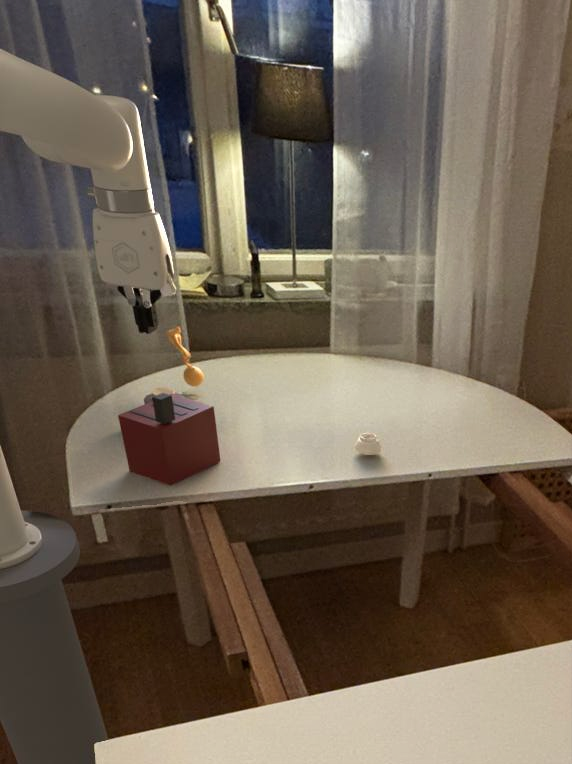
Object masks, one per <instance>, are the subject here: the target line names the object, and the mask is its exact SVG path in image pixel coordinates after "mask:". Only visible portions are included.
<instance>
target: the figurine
mask: <svg viewBox="0 0 572 764" xmlns="http://www.w3.org/2000/svg"><path fill="white" fill-rule="evenodd" d="M181 333H182V330H181V327H180V326H175V327H174V328H172V329H169V330H168V331H166V337H167V338H168V340H169V341H170V343H171V344H173V345H174V347H175V349H177V350H178V351H179V352H180V354H181V355H183V356H182V359H183V363H184V365H185V366H186V368H185V369H184V371H183V374H182V377H183V380H184V382H185V383H186V384H187V385H189V386H190V387H194V388H195V387H199V386H201V385H202V384H203V383H204V380H205V379H204V378H205V375H204V373H203V371H202V370H201V369H200V367H197V366H194V365H193V364H190V363H189V360H190V359H191V357H192V355H191V353H190V352H189V351H188V349H186V348H185V347H184V346H183V345H182V336H181Z"/></svg>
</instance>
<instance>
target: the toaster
mask: <svg viewBox="0 0 572 764" xmlns="http://www.w3.org/2000/svg"><path fill="white" fill-rule="evenodd" d="M169 395H172V401H173V407H174V413H175V420H173V421H171V422H169V423H166V424H163V423H160V422H157V421H156V417H155V412H154V406H153V401H152V402H149V403H147V404H144V403H143V404H142V405H140V406H137V407H134V408H131V409H129V410H127V411H125V412H122V413H120V414H118V416H117V417H118V421H119V427H120V432H121V436H122V441H123V447H124V452H125V455H126V460H127V466H128V471H129V473H131V474H135V475H138V476H141V477H144V478H146V477H147V479H149V478H150V479H149V480H153V481H155V482H159V483H162V484H163V485H164V484H165V485H167V486H170V487H173V486H175V485H176V484H178V483H181V482H182V481H185V480H186V479H189V478H190V477H193V476H195V475H197V474H199V473H200V472H202V471H204V470H207V469H208V468H210V467H211V466H214V465H216V464H217V463H220V462H221V453H220V445H219V438H218V431H217V422H216V415H215V407H214V406H213V405H211V404H208V403H204V402H201V401H198V400H195V399H192V398H188V397H185V396H183V395H182V396H183V397H182V396H179V395H176V394H169Z"/></svg>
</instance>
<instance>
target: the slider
mask: <svg viewBox="0 0 572 764" xmlns="http://www.w3.org/2000/svg"><path fill="white" fill-rule="evenodd" d="M152 400H153V406H154V412H155V417H156V421H157V422H160V423H163V424H166V423H169V422H171V421H173V420H175V413H174V407H173V401H172V395H169V394H166V393H161V394H159V395H156V396H154V397H152Z"/></svg>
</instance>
